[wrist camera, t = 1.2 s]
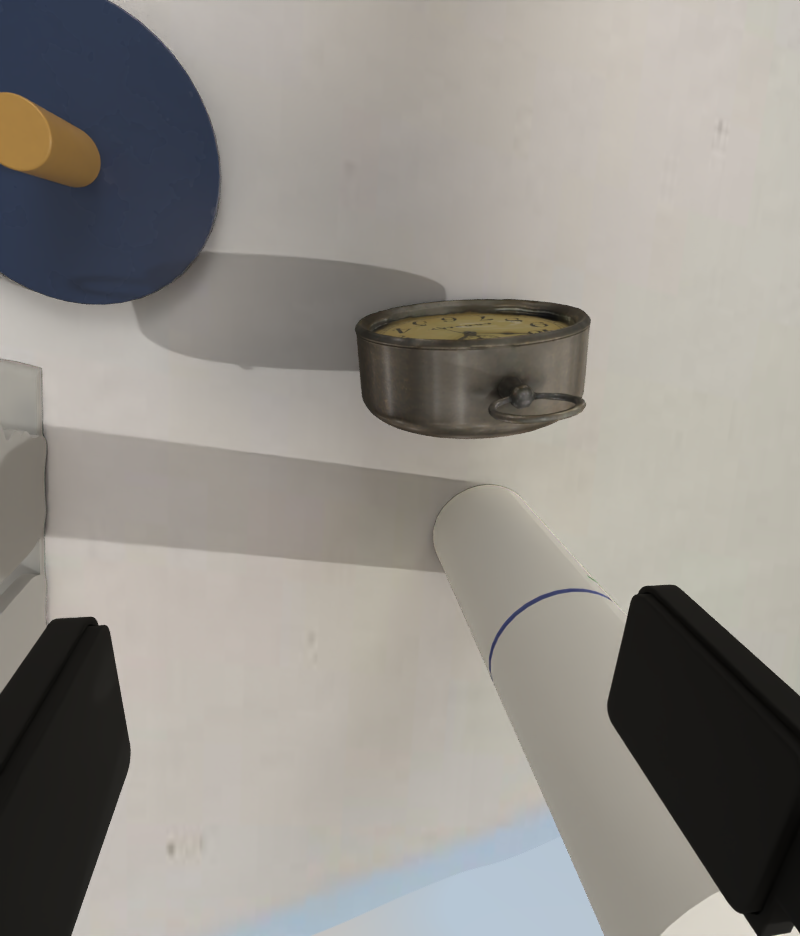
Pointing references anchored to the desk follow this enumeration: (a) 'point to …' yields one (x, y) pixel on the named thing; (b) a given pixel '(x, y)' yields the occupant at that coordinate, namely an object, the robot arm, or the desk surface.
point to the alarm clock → (473, 366)
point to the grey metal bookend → (21, 515)
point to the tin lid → (99, 154)
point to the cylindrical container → (574, 715)
